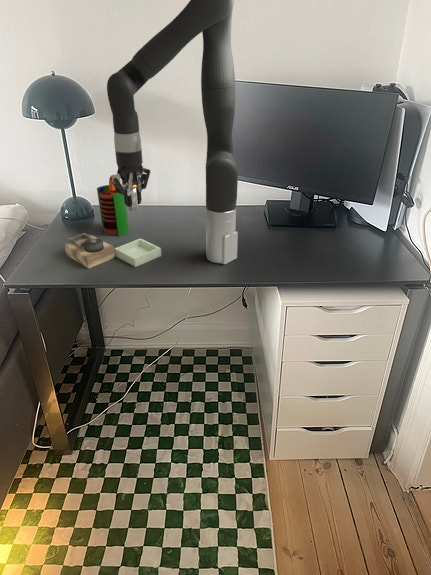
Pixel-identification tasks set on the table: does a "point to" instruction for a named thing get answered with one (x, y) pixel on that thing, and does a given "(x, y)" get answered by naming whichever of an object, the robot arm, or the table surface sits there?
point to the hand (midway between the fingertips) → (133, 204)
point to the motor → (112, 210)
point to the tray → (137, 252)
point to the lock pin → (134, 198)
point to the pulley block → (89, 250)
